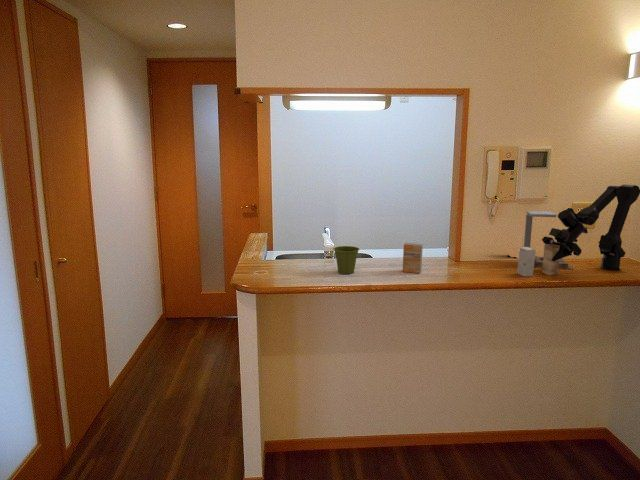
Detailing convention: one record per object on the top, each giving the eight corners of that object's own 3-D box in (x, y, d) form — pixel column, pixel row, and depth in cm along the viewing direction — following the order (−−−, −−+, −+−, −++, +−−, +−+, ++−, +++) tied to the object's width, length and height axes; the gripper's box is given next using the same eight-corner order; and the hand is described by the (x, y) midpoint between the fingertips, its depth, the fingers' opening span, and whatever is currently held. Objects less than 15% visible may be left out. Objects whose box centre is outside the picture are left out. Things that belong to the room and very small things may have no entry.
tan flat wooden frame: (565, 261, 225) (566, 257, 224) (573, 269, 209) (574, 264, 209) (526, 259, 229) (526, 255, 229) (531, 267, 214) (532, 262, 214)
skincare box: (516, 273, 204) (518, 247, 202) (525, 272, 205) (527, 246, 203) (524, 276, 198) (526, 249, 196) (533, 276, 199) (536, 249, 197)
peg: (550, 271, 206) (553, 243, 204) (558, 274, 202) (560, 245, 199) (541, 272, 205) (544, 244, 202) (549, 275, 200) (551, 246, 198)
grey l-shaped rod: (546, 261, 225) (551, 211, 220) (551, 267, 214) (556, 214, 209) (521, 260, 228) (524, 210, 224) (524, 266, 217) (528, 213, 212)
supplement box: (402, 272, 207) (403, 244, 205) (404, 269, 212) (404, 242, 209) (420, 273, 204) (421, 245, 202) (421, 271, 209) (422, 243, 206)
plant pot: (329, 274, 204) (329, 250, 202) (338, 268, 215) (338, 245, 213) (354, 277, 200) (355, 252, 198) (362, 270, 211) (362, 247, 208)
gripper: (546, 219, 209) (524, 243, 208) (578, 224, 191) (554, 252, 190) (559, 234, 212) (537, 259, 212) (592, 242, 194) (568, 268, 194)
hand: (548, 259), depth 202 cm, fingers closed on peg, 4 cm apart
